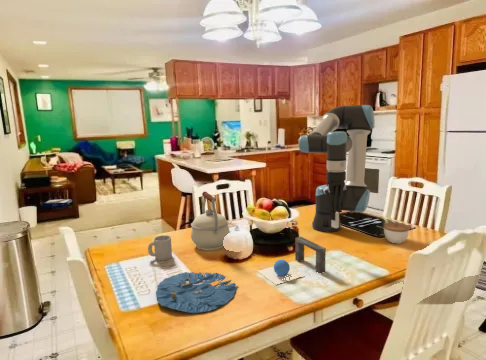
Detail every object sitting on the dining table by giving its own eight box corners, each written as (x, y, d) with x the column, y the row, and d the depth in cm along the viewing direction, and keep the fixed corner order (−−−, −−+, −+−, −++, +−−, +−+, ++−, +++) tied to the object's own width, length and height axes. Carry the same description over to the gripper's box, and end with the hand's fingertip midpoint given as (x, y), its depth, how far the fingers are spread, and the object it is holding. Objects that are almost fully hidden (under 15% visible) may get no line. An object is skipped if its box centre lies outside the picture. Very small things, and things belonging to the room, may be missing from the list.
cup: (173, 259, 147) (172, 239, 146) (149, 263, 144) (148, 243, 142) (170, 253, 154) (169, 234, 152) (147, 257, 150) (146, 237, 149)
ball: (279, 254, 132) (285, 266, 134) (268, 263, 129) (273, 275, 131) (289, 259, 127) (294, 271, 129) (278, 269, 124) (283, 281, 126)
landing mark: (257, 271, 133) (257, 270, 133) (284, 264, 139) (284, 263, 139) (275, 285, 122) (275, 284, 122) (304, 276, 128) (304, 276, 128)
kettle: (237, 249, 156) (235, 196, 151) (197, 256, 149) (194, 201, 145) (220, 233, 178) (218, 186, 174) (185, 238, 172) (182, 190, 167)
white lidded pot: (412, 245, 155) (413, 225, 153) (388, 246, 155) (389, 226, 153) (402, 237, 165) (403, 218, 164) (379, 237, 166) (380, 219, 164)
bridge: (319, 273, 130) (319, 249, 128) (295, 260, 143) (295, 238, 141) (325, 272, 131) (325, 248, 129) (301, 258, 144) (301, 236, 142)
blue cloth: (196, 269, 141) (196, 257, 140) (254, 290, 122) (253, 276, 121) (133, 296, 118) (132, 282, 117) (192, 326, 99) (191, 310, 98)
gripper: (330, 173, 130) (329, 232, 134) (355, 170, 136) (353, 226, 140) (317, 171, 136) (316, 227, 141) (341, 168, 142) (340, 222, 147)
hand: (334, 227), depth 140 cm, fingers closed
